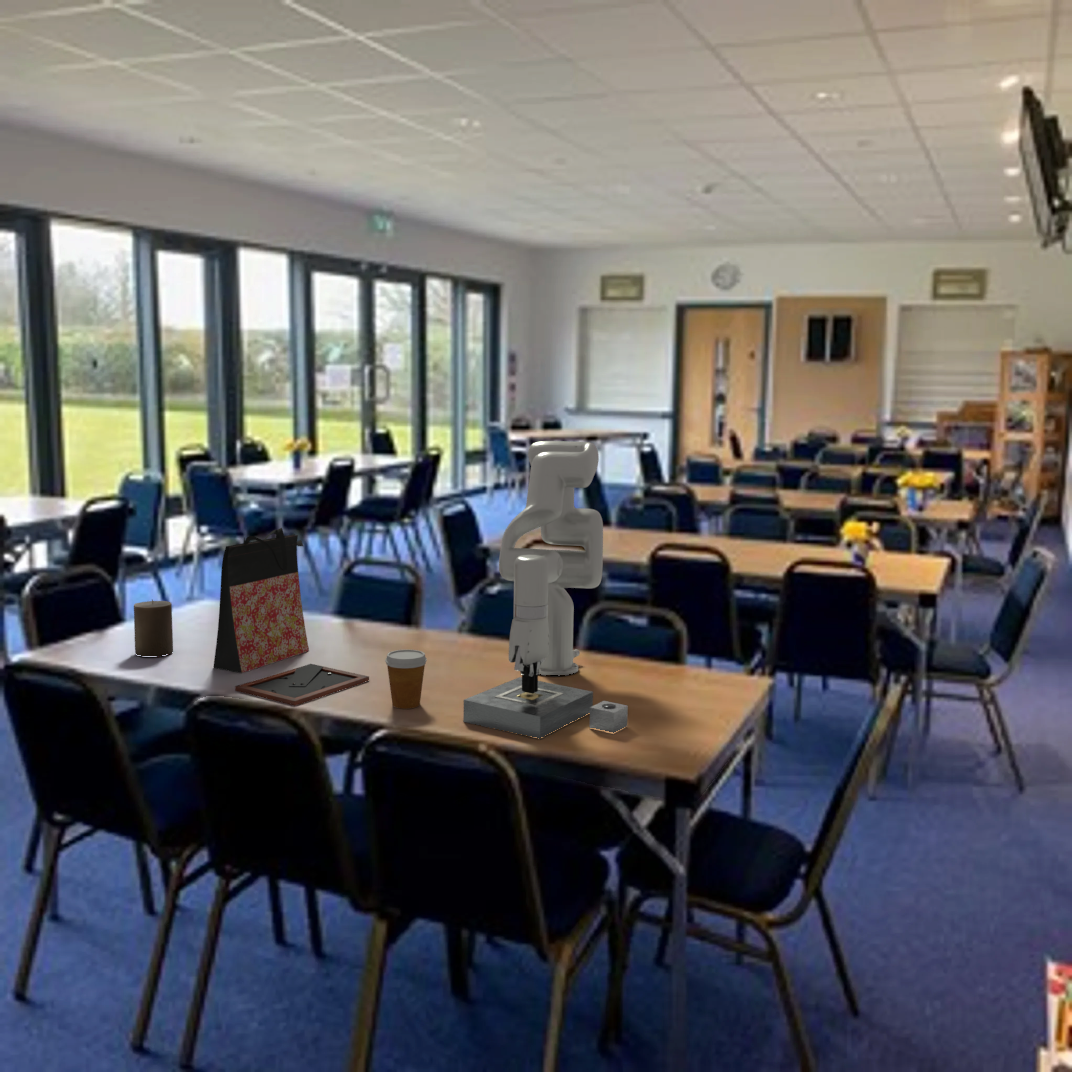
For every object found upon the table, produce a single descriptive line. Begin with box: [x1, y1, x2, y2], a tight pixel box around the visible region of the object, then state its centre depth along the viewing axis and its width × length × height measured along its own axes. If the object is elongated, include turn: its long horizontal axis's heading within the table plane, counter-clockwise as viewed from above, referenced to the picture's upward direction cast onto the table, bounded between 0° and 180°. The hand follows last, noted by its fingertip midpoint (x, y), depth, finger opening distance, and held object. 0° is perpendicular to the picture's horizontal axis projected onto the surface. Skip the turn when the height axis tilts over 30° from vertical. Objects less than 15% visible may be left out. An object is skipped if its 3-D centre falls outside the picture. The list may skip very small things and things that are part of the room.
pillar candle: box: [133, 599, 174, 656], centre depth 280 cm, size 10×10×15 cm
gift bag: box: [213, 527, 310, 674], centre depth 276 cm, size 29×14×35 cm, turn 152°
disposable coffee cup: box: [384, 649, 428, 710], centre depth 239 cm, size 10×10×12 cm
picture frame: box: [234, 663, 370, 707], centre depth 254 cm, size 20×2×25 cm
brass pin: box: [520, 692, 538, 700], centre depth 232 cm, size 4×4×5 cm
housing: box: [588, 700, 629, 733], centre depth 226 cm, size 6×6×5 cm
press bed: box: [462, 676, 594, 740], centre depth 232 cm, size 22×20×5 cm
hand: (529, 691), depth 232 cm, fingers closed
